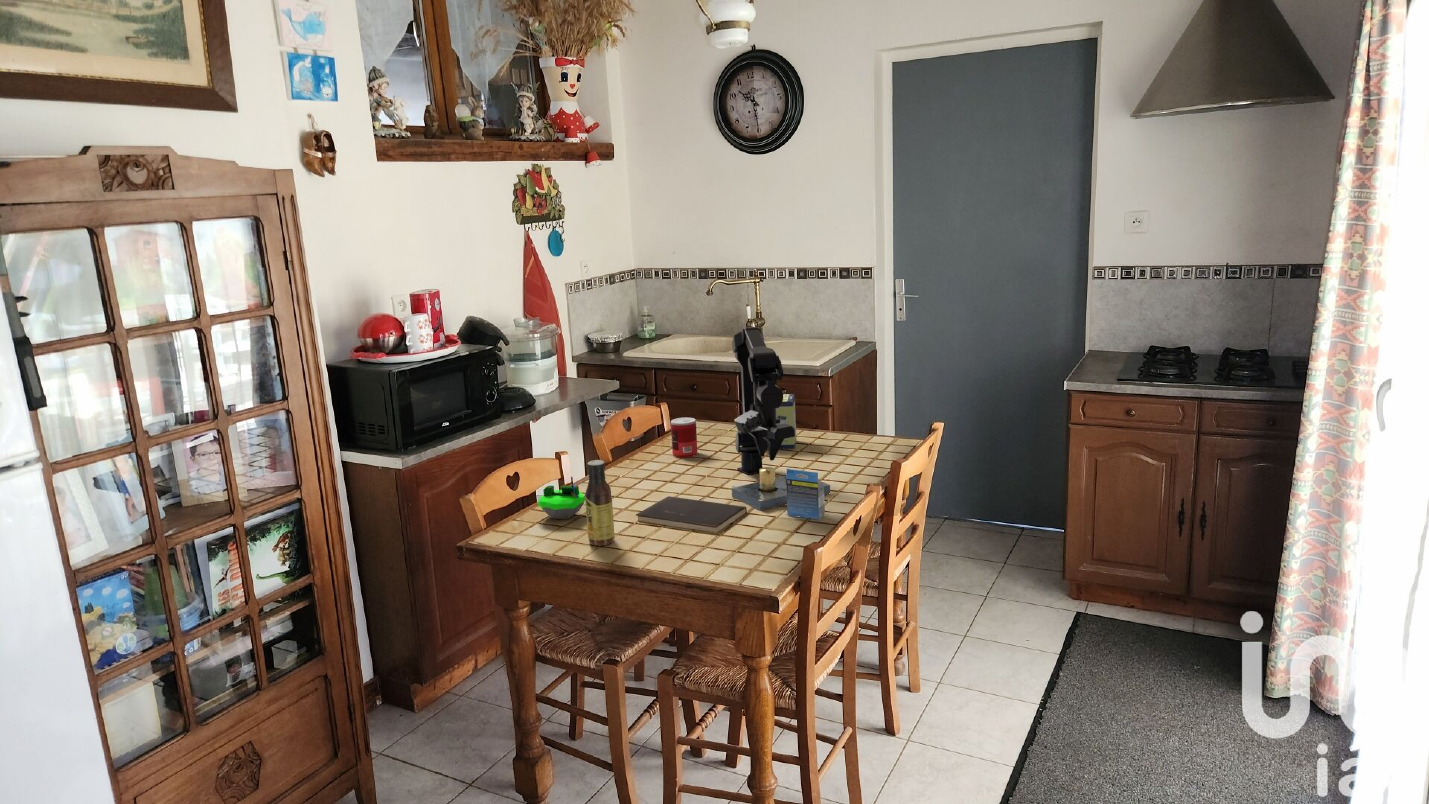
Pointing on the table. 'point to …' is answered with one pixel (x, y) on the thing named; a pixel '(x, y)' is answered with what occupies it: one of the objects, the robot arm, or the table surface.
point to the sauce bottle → (599, 505)
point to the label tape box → (804, 495)
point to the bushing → (767, 479)
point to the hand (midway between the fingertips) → (767, 458)
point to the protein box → (787, 418)
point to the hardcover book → (691, 514)
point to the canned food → (684, 437)
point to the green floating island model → (561, 501)
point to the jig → (767, 494)
